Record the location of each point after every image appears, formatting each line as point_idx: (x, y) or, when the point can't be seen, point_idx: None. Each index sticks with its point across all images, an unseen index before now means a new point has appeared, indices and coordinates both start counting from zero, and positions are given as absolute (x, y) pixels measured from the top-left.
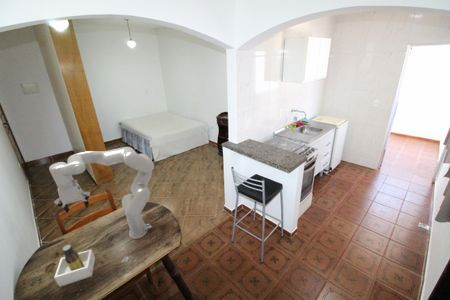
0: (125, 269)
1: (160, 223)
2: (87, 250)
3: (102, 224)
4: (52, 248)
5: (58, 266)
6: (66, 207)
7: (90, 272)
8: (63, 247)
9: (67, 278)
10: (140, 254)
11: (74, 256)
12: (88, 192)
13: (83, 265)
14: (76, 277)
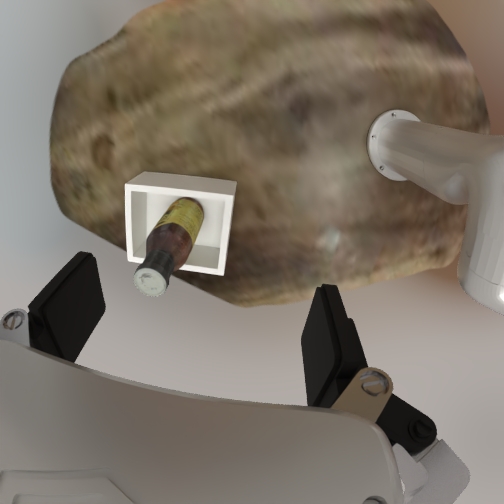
0: (320, 275)
1: None
2: (218, 194)
3: (270, 9)
4: (94, 66)
5: (127, 221)
6: (72, 343)
7: (226, 257)
8: (135, 275)
9: None
10: (371, 247)
11: (180, 267)
12: (446, 501)
13: (202, 220)
14: None
